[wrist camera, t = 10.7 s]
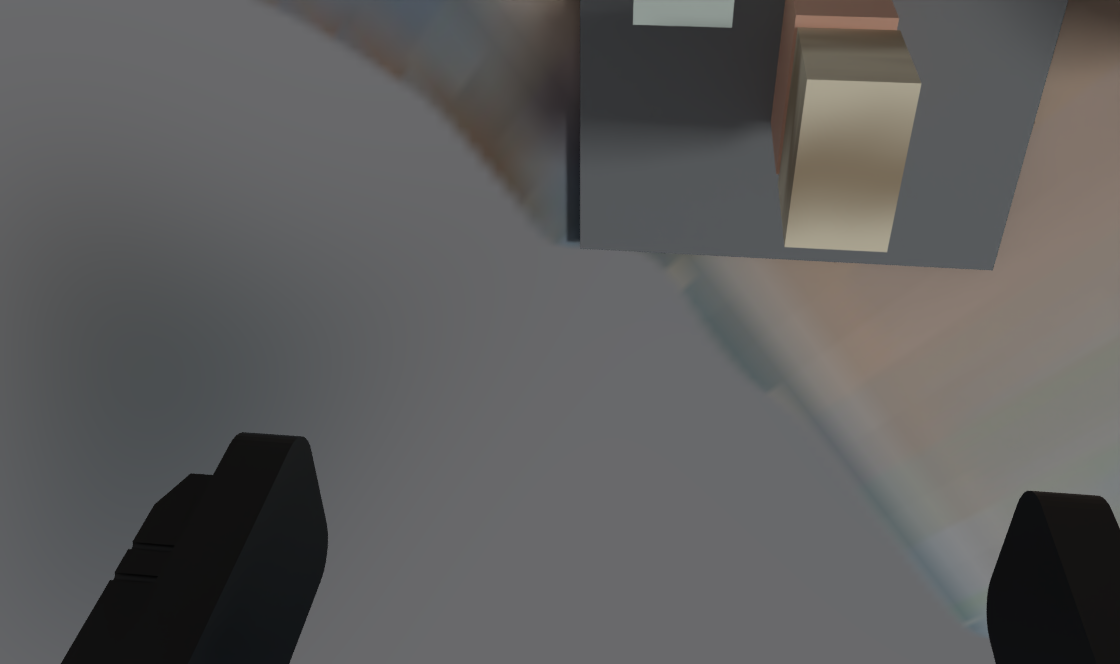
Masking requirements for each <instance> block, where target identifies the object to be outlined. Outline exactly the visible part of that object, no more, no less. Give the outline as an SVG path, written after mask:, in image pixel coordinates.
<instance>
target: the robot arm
mask: <svg viewBox="0 0 1120 664" xmlns="http://www.w3.org/2000/svg"><path fill="white" fill-rule="evenodd" d="M327 548H328V531H327V523H326V518H325V513H324V509H323V504H322V499H321V495H320V490H319V485H318V480H317V476H316V471H315V466H314V461H313V456H312V452H311V448H310V445H309V442H308V441H307V439H306V438H305V437H301V436H288V435H274V434H260V433H246V432H245V433H244V432H242V433H239V434H238V435H236V436H235V438H234V439H233V440H232V442H231V443H230V445H229V447H228V449H227V450H226V452H225V454H224V456H223V458H222V460H221V461H220V463H219V465H218V467H217V469H216V471H215V473H214V474H213V475H204V474H190V475H188V476H187V477H186V478H185V479H184V480H183V481H182V482H180V483H179V484H178V485H177V486H176V487H174V488H173V489H172V490H171V491H170V492H169V493H168V494H167V495H165V496H164V497H163V498H162V499H160V500H159V501H158V502H157V503H156V504H155V505H154V506H153V508H152V510H151V511H150V513H149V515H148V516H147V518H146V520H145V522H144V523H143V525H142V527H141V529H140V530H139V532H138V534H137V535H136V537H135V539H134V540H133V547H132V549H128V550H127V552H126V554H125V556H124V557H123V559H122V561H121V563H120V564H119V566H118V568H117V569H116V571H115V578H114V580H110V581H109V583H108V584H107V586H106V588H105V590H104V591H103V593H102V595H101V596H100V598H99V600H98V601H97V603H96V605H95V607H94V609H93V610H92V612H91V613H90V615H89V617H88V619H87V620H86V622H85V623H84V625H83V627H82V629H81V630H80V632H79V634H78V635H77V637H76V639H75V641H74V642H73V644H72V646H71V647H70V649H69V651H68V652H67V654H66V656H65V657H64V659H63V661H62V663H61V664H289V663H290V660H291V658H292V655H293V652H294V650H295V647H296V644H297V642H298V639H299V636H300V634H301V631H302V628H303V626H304V624H305V621H306V618H307V616H308V613H309V610H310V608H311V605H312V603H313V600H314V597H315V594H316V592H317V589H318V587H319V584H320V582H321V578H322V575H323V572H324V568H325V563H326V556H327ZM987 626H988V633H989V638H990V643H991V647H992V650H993V654H994V658H995V662H996V664H1120V528H1119V526H1118V524H1117V521H1116V519H1115V517H1114V514H1113V512H1112V510H1111V508H1110V506H1109V504H1108V503H1107V501H1106V500H1105V499H1104V498H1103V497H1101V496H1095V495H1081V494H1067V493H1053V492H1039V491H1026V492H1025V493H1024V494H1023V495H1022V496H1021V498H1020V499H1019V502H1018V504H1017V507H1016V510H1015V512H1014V515H1013V518H1012V521H1011V524H1010V526H1009V529H1008V532H1007V535H1006V538H1005V541H1004V543H1003V546H1002V549H1001V552H1000V555H999V557H998V560H997V563H996V566H995V569H994V572H993V574H992V577H991V580H990V584H989V589H988V595H987Z"/></svg>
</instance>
